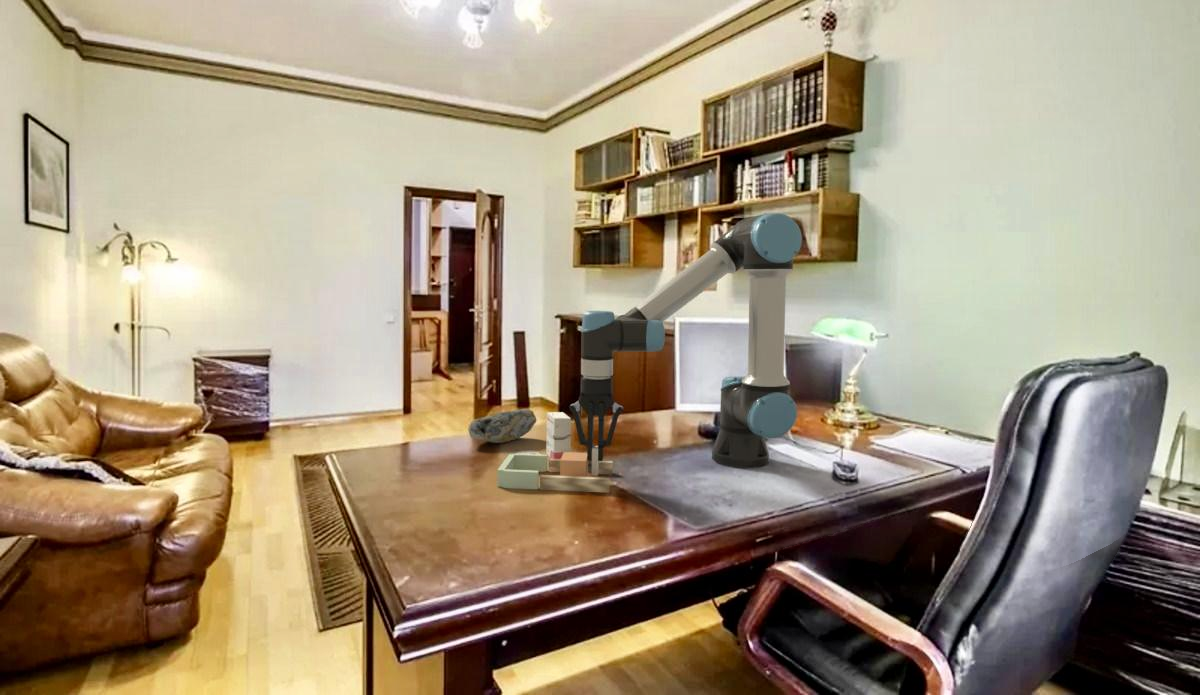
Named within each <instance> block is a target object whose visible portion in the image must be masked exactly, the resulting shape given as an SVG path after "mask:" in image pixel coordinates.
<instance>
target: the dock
mask: <svg viewBox="0 0 1200 695" xmlns="http://www.w3.org/2000/svg"><path fill="white" fill-rule="evenodd" d="M496 471H497V475H496V476H497V479H496V480H497V488H498V487H499V488H503V489H514V490H515V489H517V490H539V489H540V473H539V472H543V473H546V472H547V471H548V455H547V454H540V453H517V452H516V453H509V454H508V455H507V456H506V458H505V459H504V461H503V462H502V463H501V465H500V466H499V467H498V468H497V470H496Z"/></svg>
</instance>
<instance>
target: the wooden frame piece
mask: <svg viewBox="0 0 1200 695" xmlns="http://www.w3.org/2000/svg"><path fill="white" fill-rule="evenodd" d="M566 452H576V453H587V451H574V450H573V451H572V450H571V451H566ZM560 460H561V459H551V458H548V459H547V471H548V472H549V473H560ZM613 466H614V463H613V460H602V461H599V468H598V475H613ZM589 472H591V473H592V461H588V473H589ZM610 480H611V478H610V477H598V476H588V477H579V476H560V475H556V474H555V475H551V474H540V475H539V490H541V491H542V490H543V491H544V490H545V491H562V492H563V491H564V492H567V491H568V492H586V493H587V492H588V493H590V492H591V493H606V494H607V493H610V490H611V486H610V484H611V481H610Z"/></svg>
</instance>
